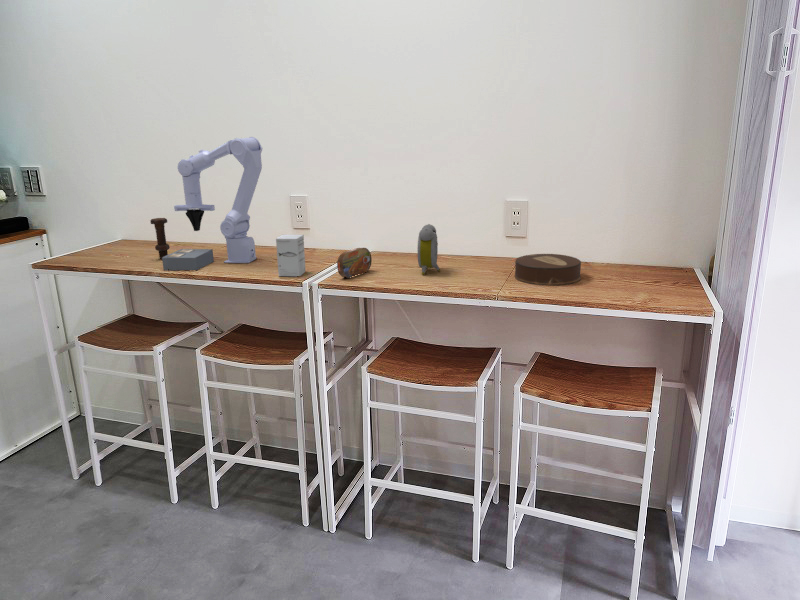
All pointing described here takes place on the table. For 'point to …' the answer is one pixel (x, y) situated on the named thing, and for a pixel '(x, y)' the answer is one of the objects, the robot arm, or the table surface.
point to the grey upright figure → (427, 248)
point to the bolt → (160, 236)
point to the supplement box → (290, 255)
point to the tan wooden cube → (185, 251)
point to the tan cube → (176, 255)
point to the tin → (354, 262)
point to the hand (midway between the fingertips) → (197, 230)
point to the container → (547, 269)
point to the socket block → (188, 260)
